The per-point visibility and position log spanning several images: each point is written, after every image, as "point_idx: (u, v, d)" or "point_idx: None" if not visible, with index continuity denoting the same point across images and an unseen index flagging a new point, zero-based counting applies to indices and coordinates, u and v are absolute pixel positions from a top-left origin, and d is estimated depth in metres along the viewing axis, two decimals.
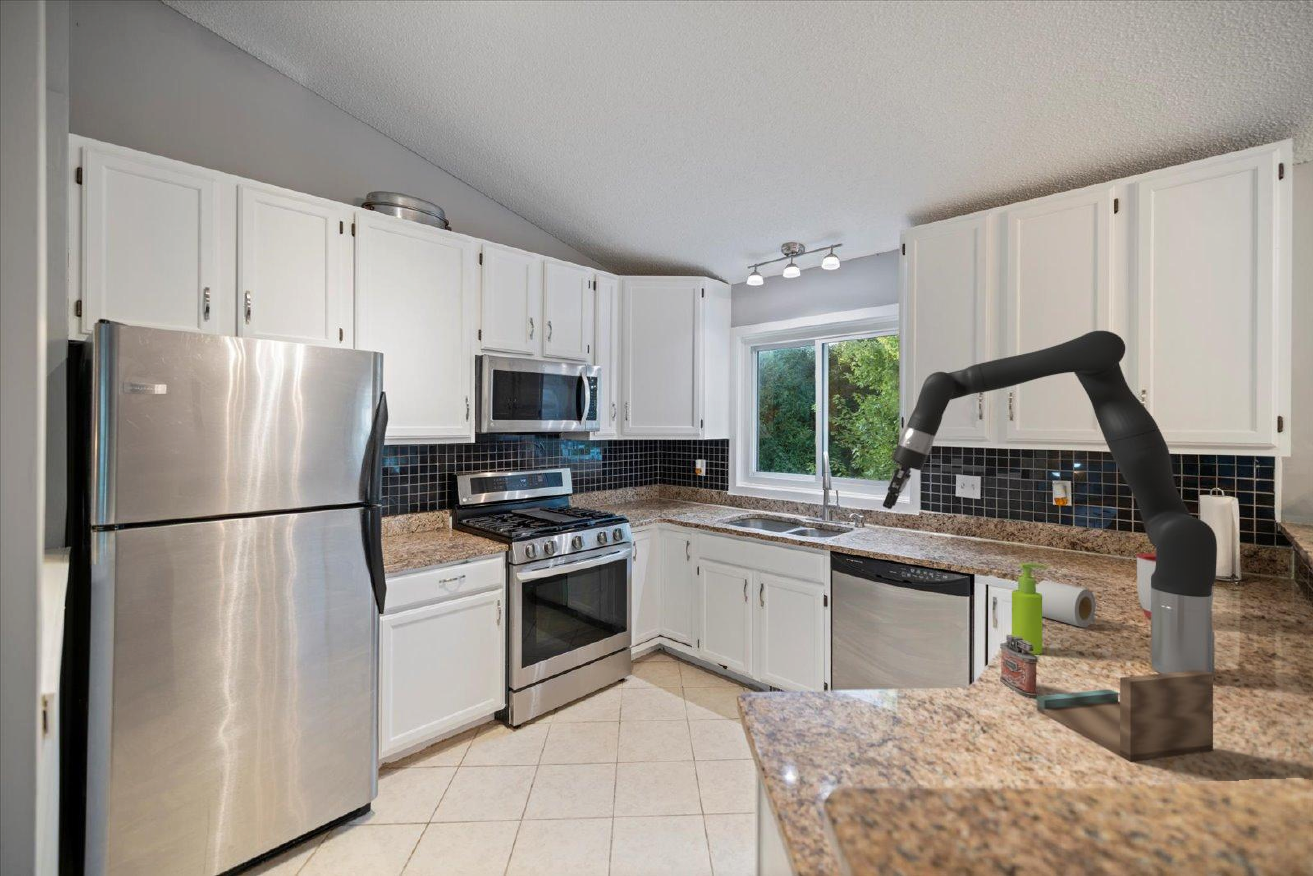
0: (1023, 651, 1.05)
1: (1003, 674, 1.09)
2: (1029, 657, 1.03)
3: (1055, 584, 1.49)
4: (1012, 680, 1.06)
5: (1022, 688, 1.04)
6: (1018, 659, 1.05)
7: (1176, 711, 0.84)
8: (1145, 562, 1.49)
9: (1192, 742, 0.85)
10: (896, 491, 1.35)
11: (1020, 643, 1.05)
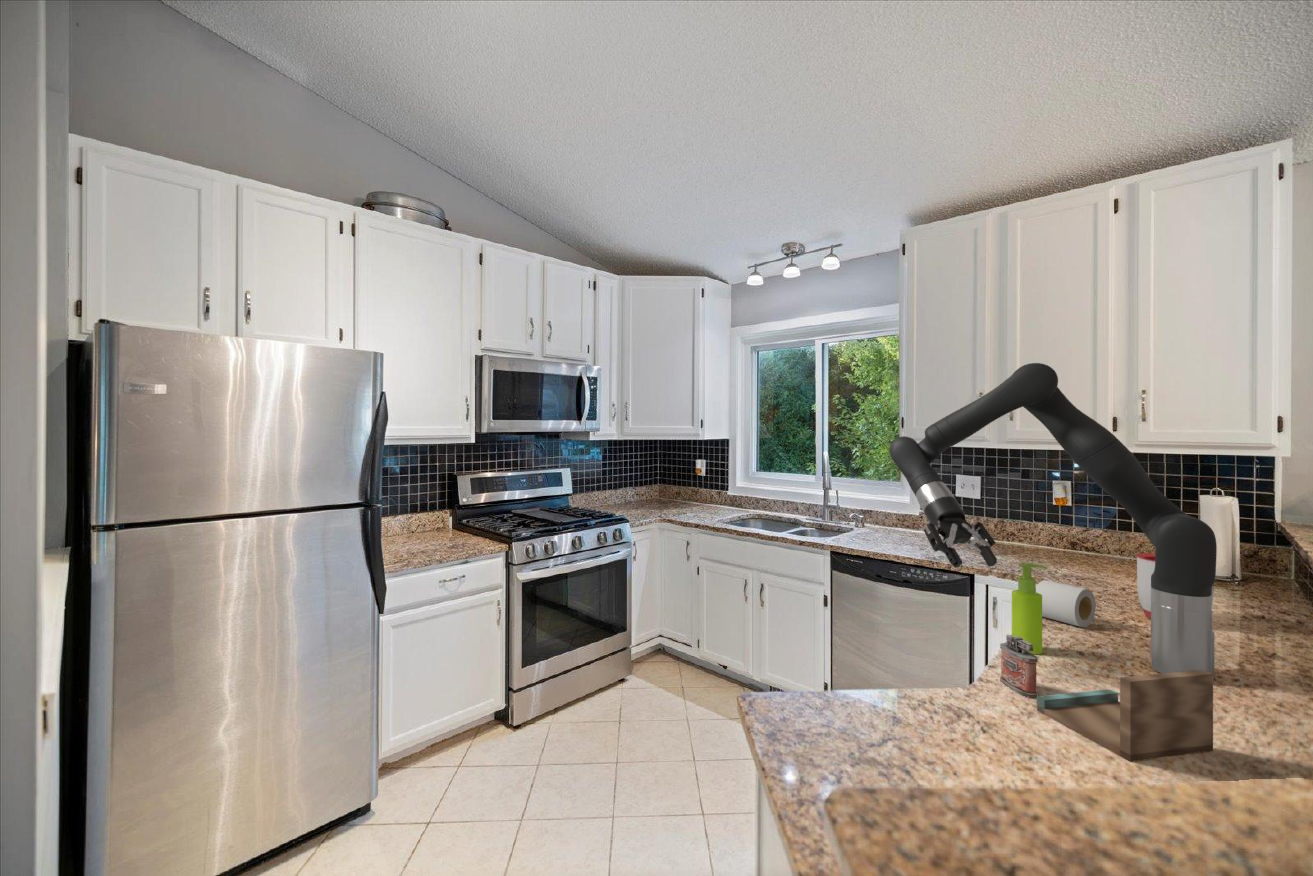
0: (1023, 651, 1.05)
1: (1003, 674, 1.09)
2: (1029, 657, 1.03)
3: (1055, 584, 1.49)
4: (1012, 680, 1.06)
5: (1022, 688, 1.04)
6: (1018, 659, 1.05)
7: (1176, 711, 0.84)
8: (1145, 562, 1.49)
9: (1192, 742, 0.85)
10: (937, 544, 1.19)
11: (1020, 643, 1.05)
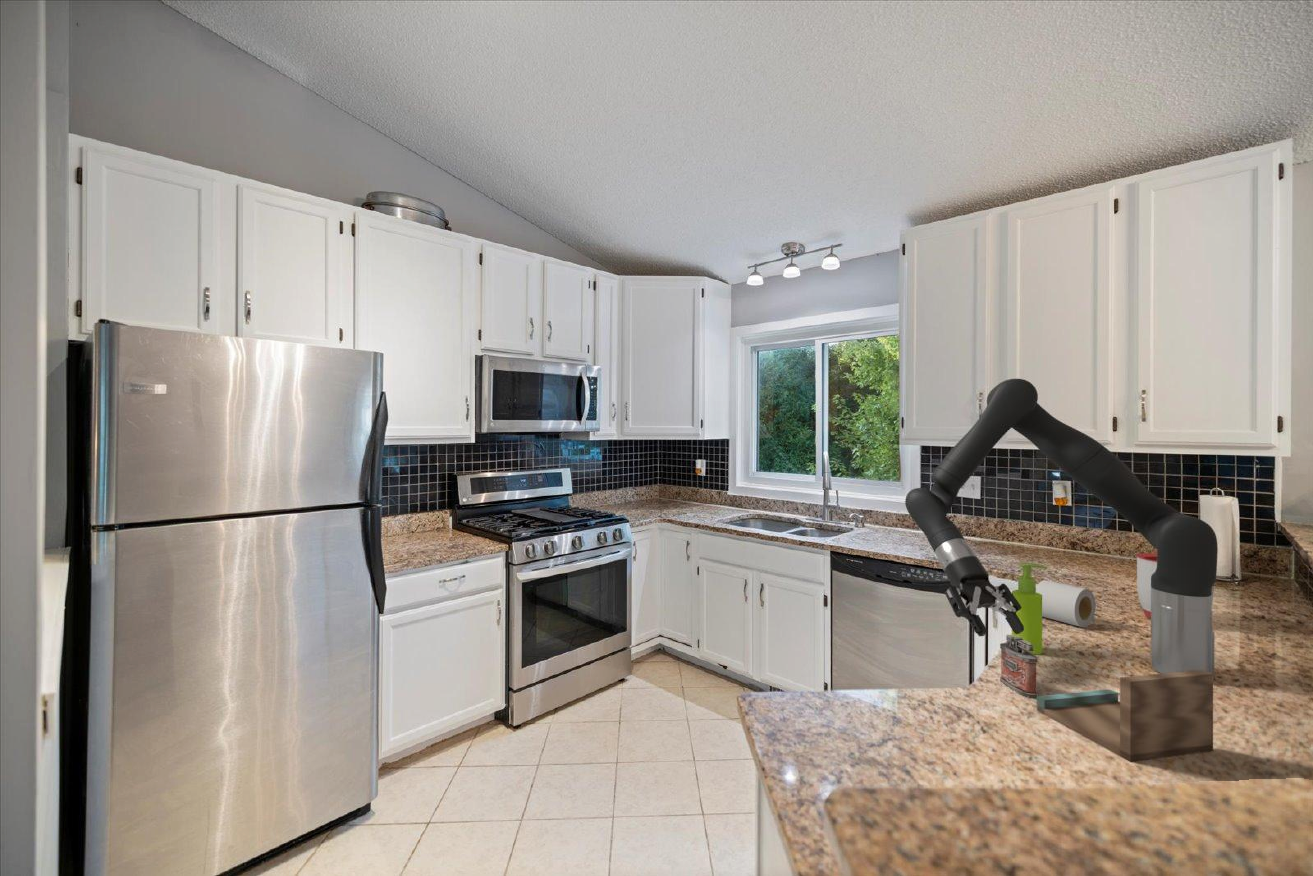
0: (1023, 651, 1.05)
1: (1003, 674, 1.09)
2: (1029, 657, 1.03)
3: (1055, 584, 1.49)
4: (1012, 680, 1.06)
5: (1022, 688, 1.04)
6: (1018, 659, 1.05)
7: (1176, 711, 0.84)
8: (1145, 562, 1.49)
9: (1192, 742, 0.85)
10: (960, 610, 1.12)
11: (1020, 643, 1.05)
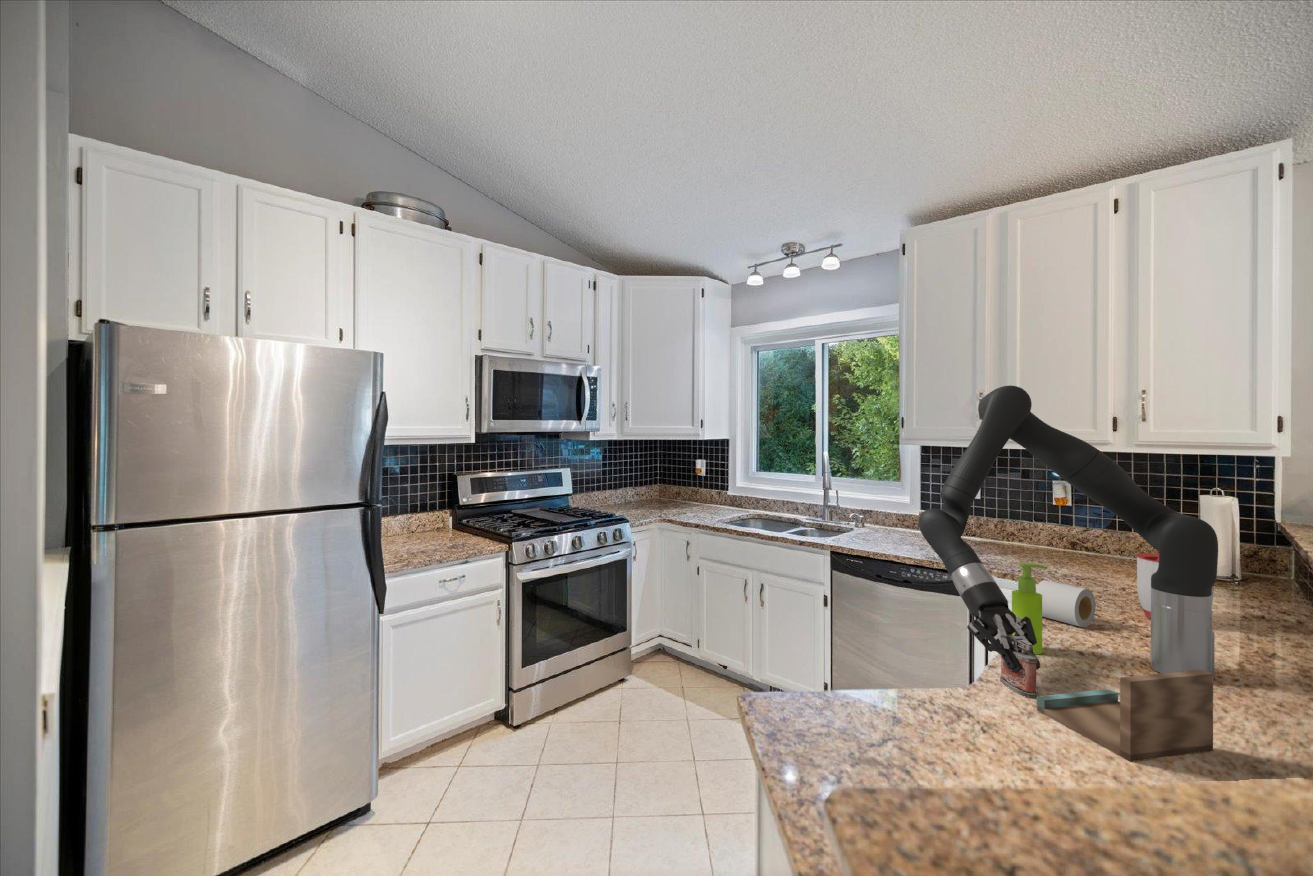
0: (1023, 651, 1.05)
1: (1003, 674, 1.09)
2: (1029, 657, 1.03)
3: (1055, 584, 1.49)
4: (1012, 680, 1.06)
5: (1022, 688, 1.04)
6: (1018, 659, 1.05)
7: (1176, 711, 0.84)
8: (1145, 562, 1.49)
9: (1192, 742, 0.85)
10: (992, 644, 1.07)
11: (1020, 643, 1.05)
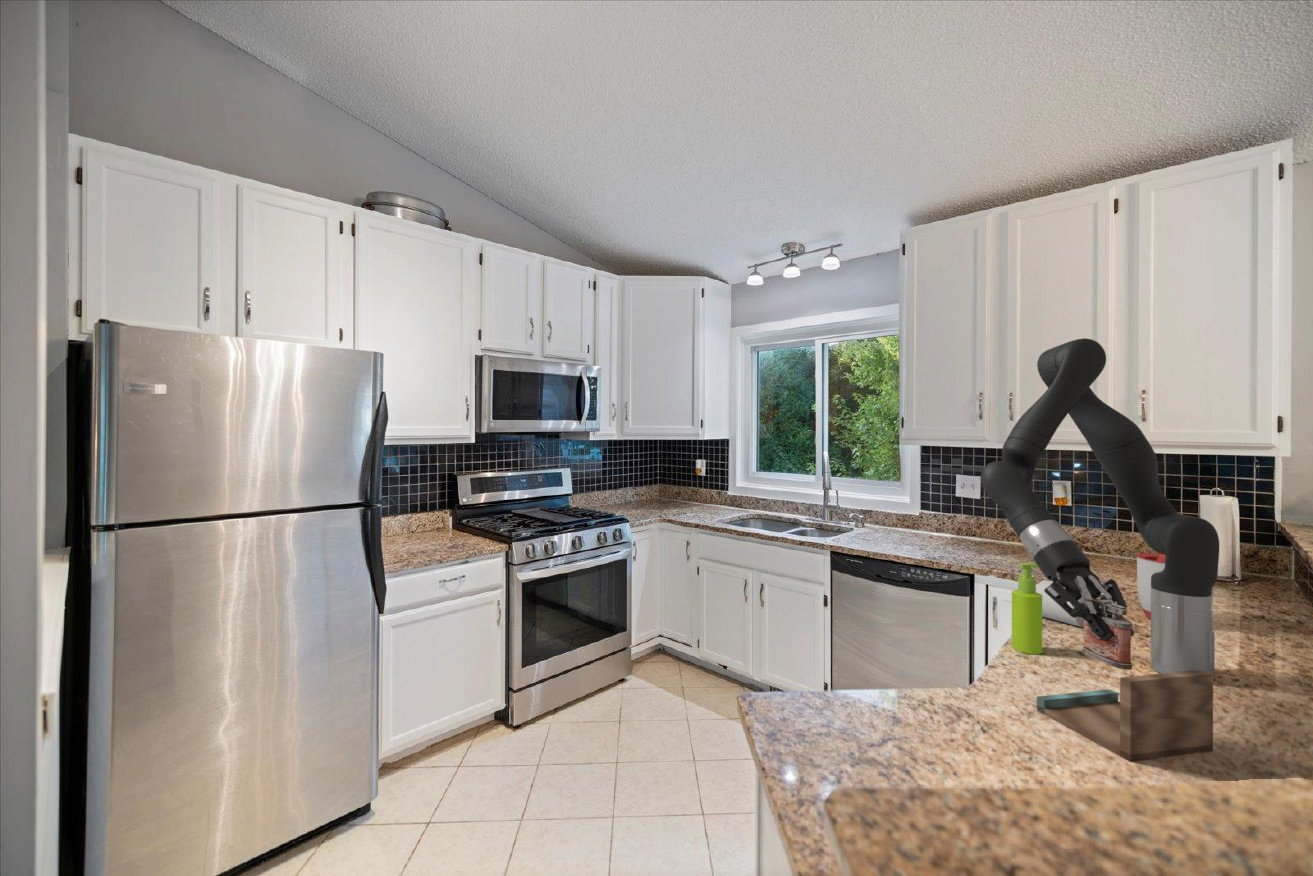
0: (1114, 616, 0.91)
1: (1087, 643, 0.95)
2: (1122, 622, 0.90)
3: None
4: (1099, 650, 0.93)
5: (1113, 658, 0.90)
6: (1108, 625, 0.91)
7: (1176, 711, 0.84)
8: (1145, 562, 1.49)
9: (1192, 742, 0.85)
10: (1077, 609, 0.93)
11: (1110, 607, 0.92)
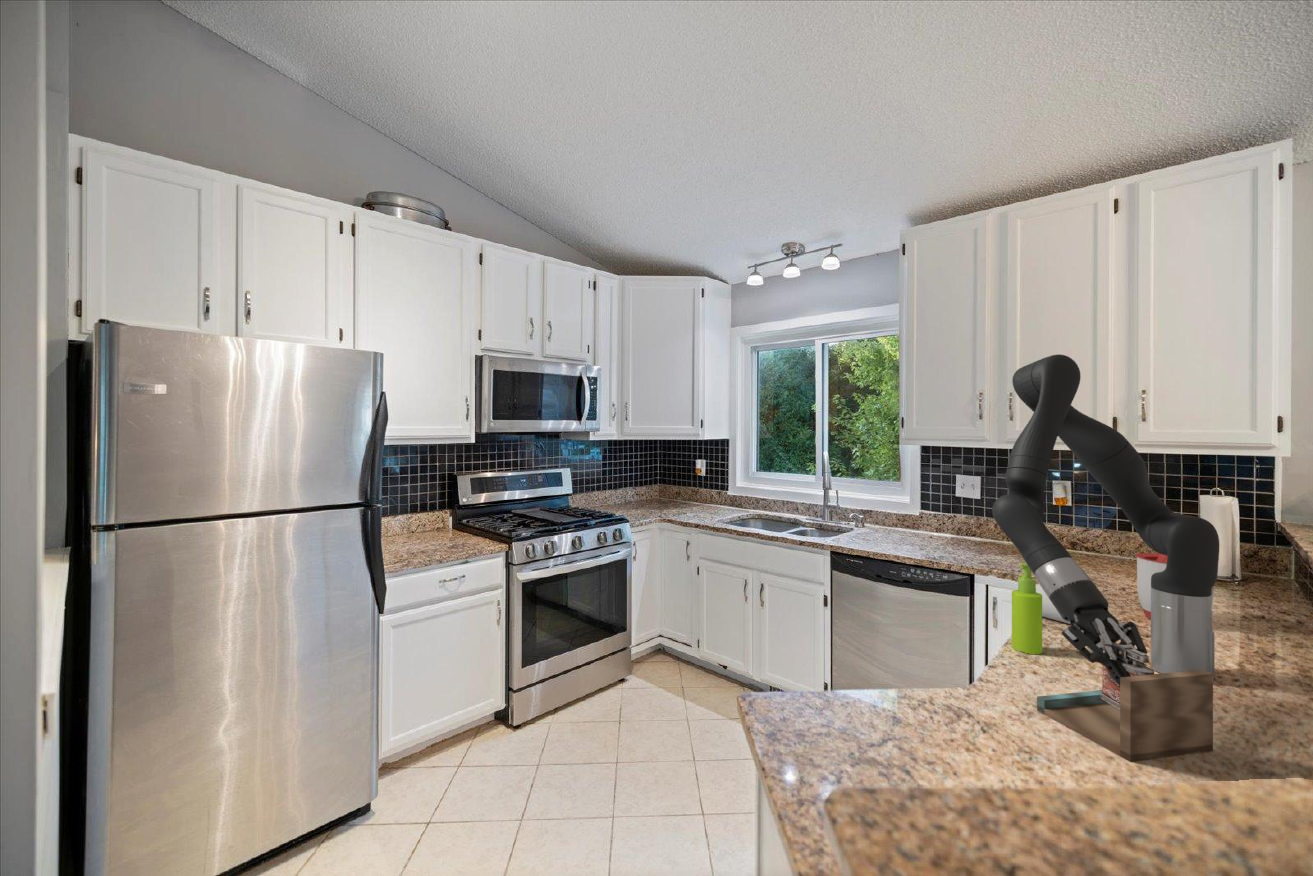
0: (1135, 663, 0.88)
1: (1105, 689, 0.92)
2: (1144, 670, 0.86)
3: None
4: (1119, 697, 0.89)
5: None
6: (1129, 672, 0.88)
7: (1176, 711, 0.84)
8: (1145, 562, 1.50)
9: (1192, 742, 0.85)
10: (1096, 654, 0.90)
11: (1131, 653, 0.88)
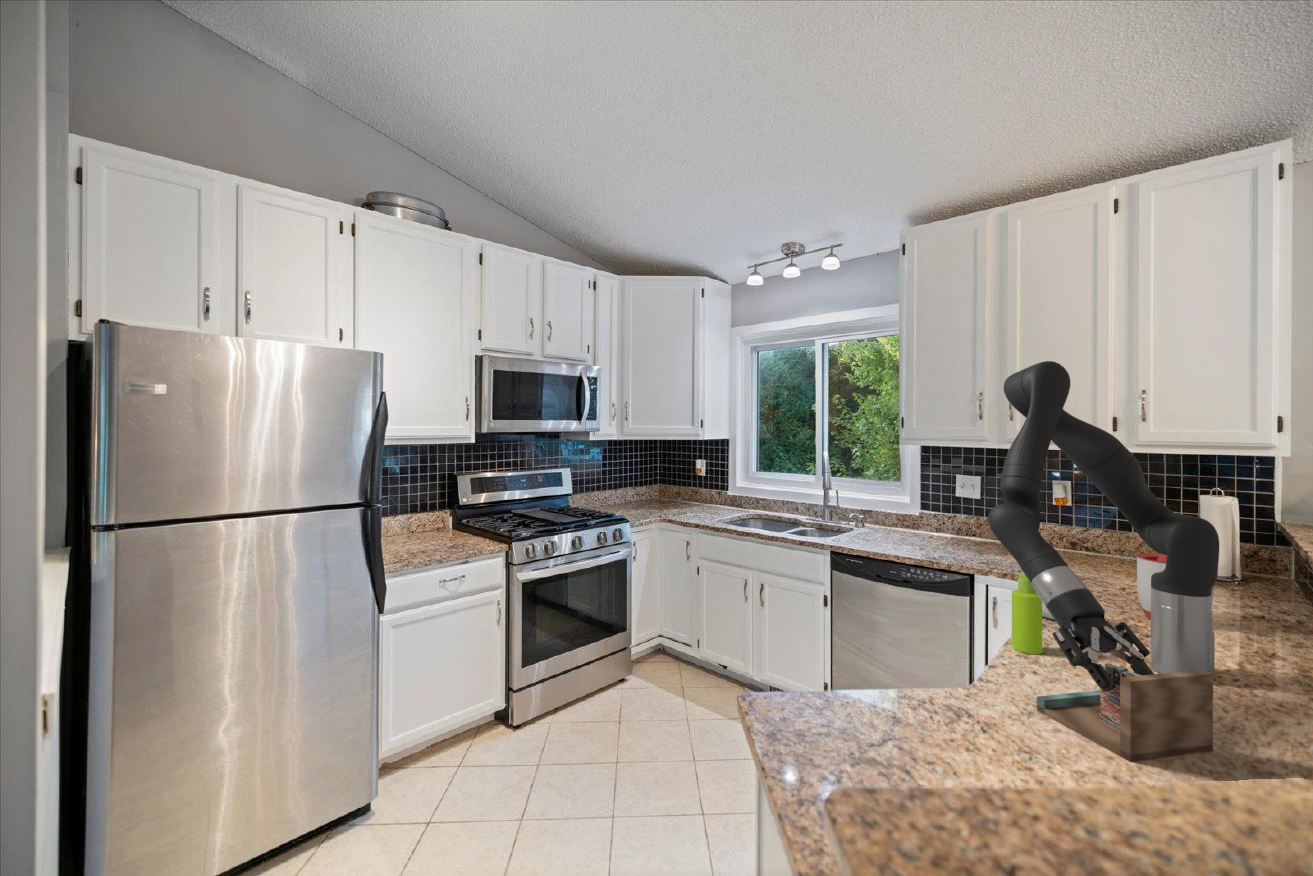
0: None
1: (1104, 711, 0.92)
2: None
3: None
4: (1119, 720, 0.89)
5: None
6: None
7: (1176, 711, 0.84)
8: (1145, 562, 1.49)
9: (1192, 742, 0.85)
10: (1078, 658, 0.91)
11: (1128, 676, 0.88)
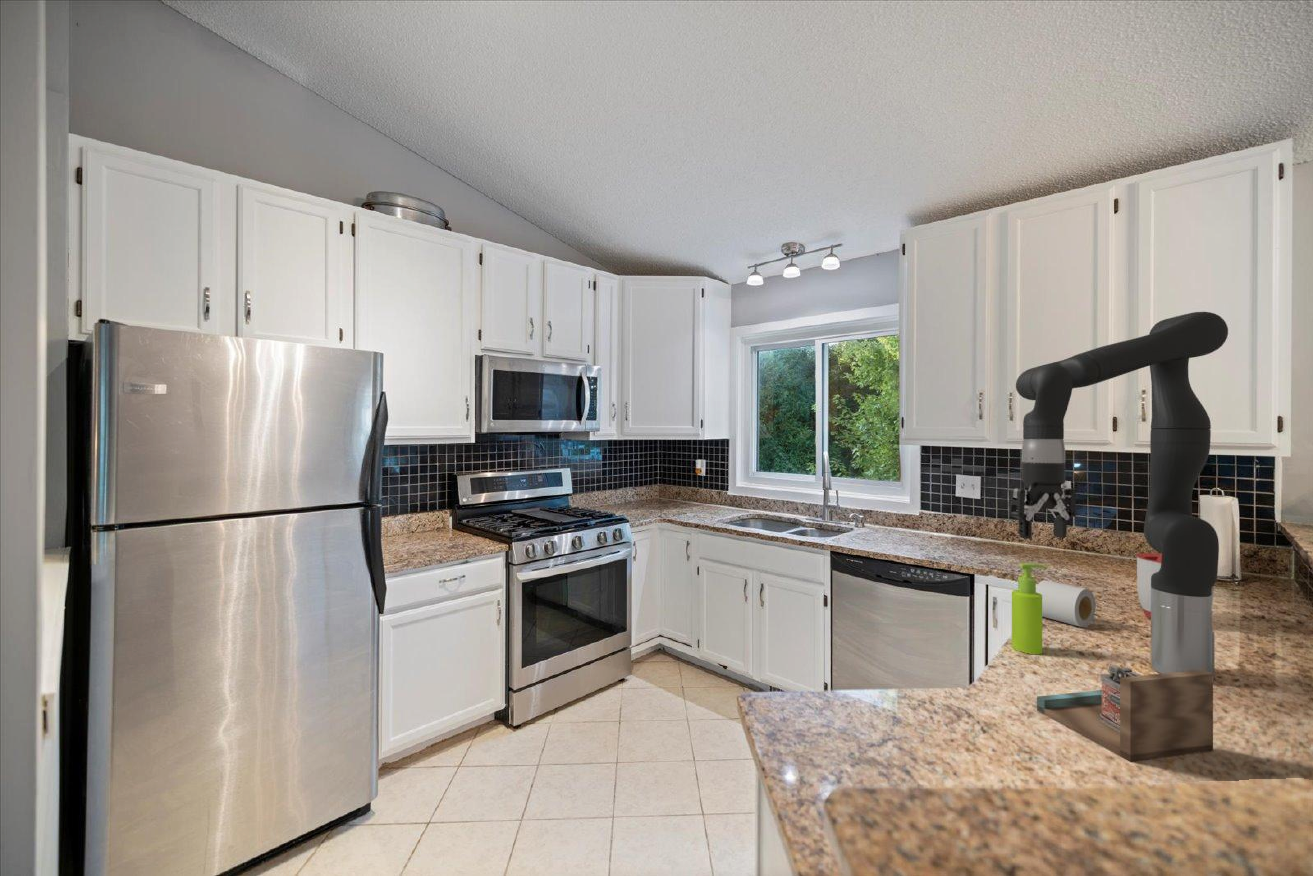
0: None
1: (1105, 711, 0.92)
2: None
3: (1055, 584, 1.49)
4: None
5: None
6: None
7: (1176, 711, 0.84)
8: (1145, 562, 1.49)
9: (1192, 742, 0.85)
10: (1017, 514, 1.13)
11: None
